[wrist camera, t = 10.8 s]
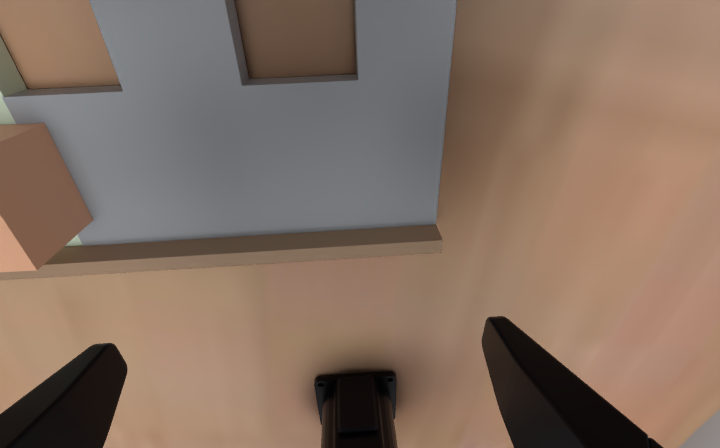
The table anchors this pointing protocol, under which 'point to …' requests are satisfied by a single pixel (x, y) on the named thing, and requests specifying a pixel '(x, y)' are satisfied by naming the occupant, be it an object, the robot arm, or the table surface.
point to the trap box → (246, 142)
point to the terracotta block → (35, 199)
